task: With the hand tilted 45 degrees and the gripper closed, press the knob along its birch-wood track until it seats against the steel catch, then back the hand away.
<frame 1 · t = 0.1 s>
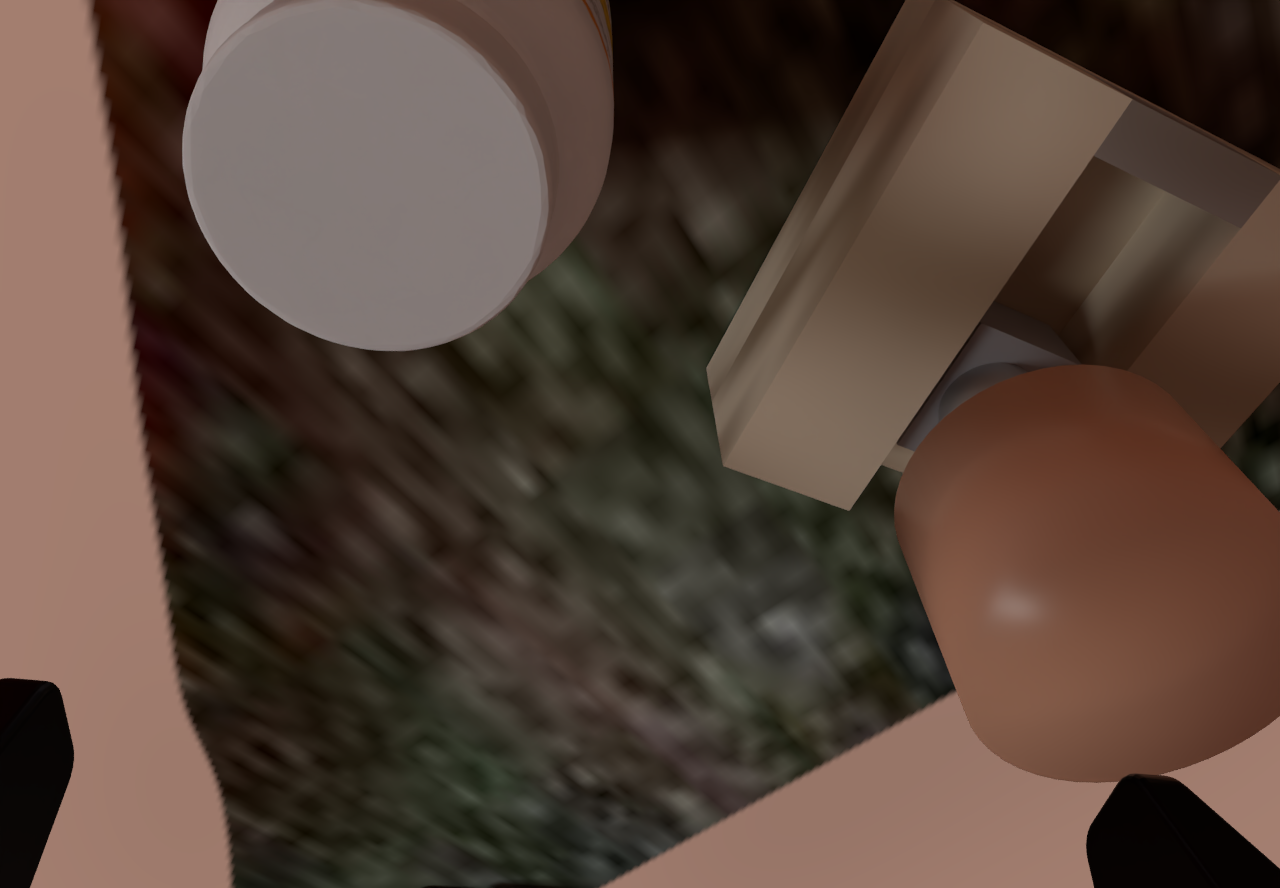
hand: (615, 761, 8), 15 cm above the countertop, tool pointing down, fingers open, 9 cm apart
knob track: (940, 329, 23), on the countertop
knob: (1035, 482, 18), point 6 cm above the countertop, slide at 0.0 cm
supplement bottle: (471, 19, 19), on the countertop
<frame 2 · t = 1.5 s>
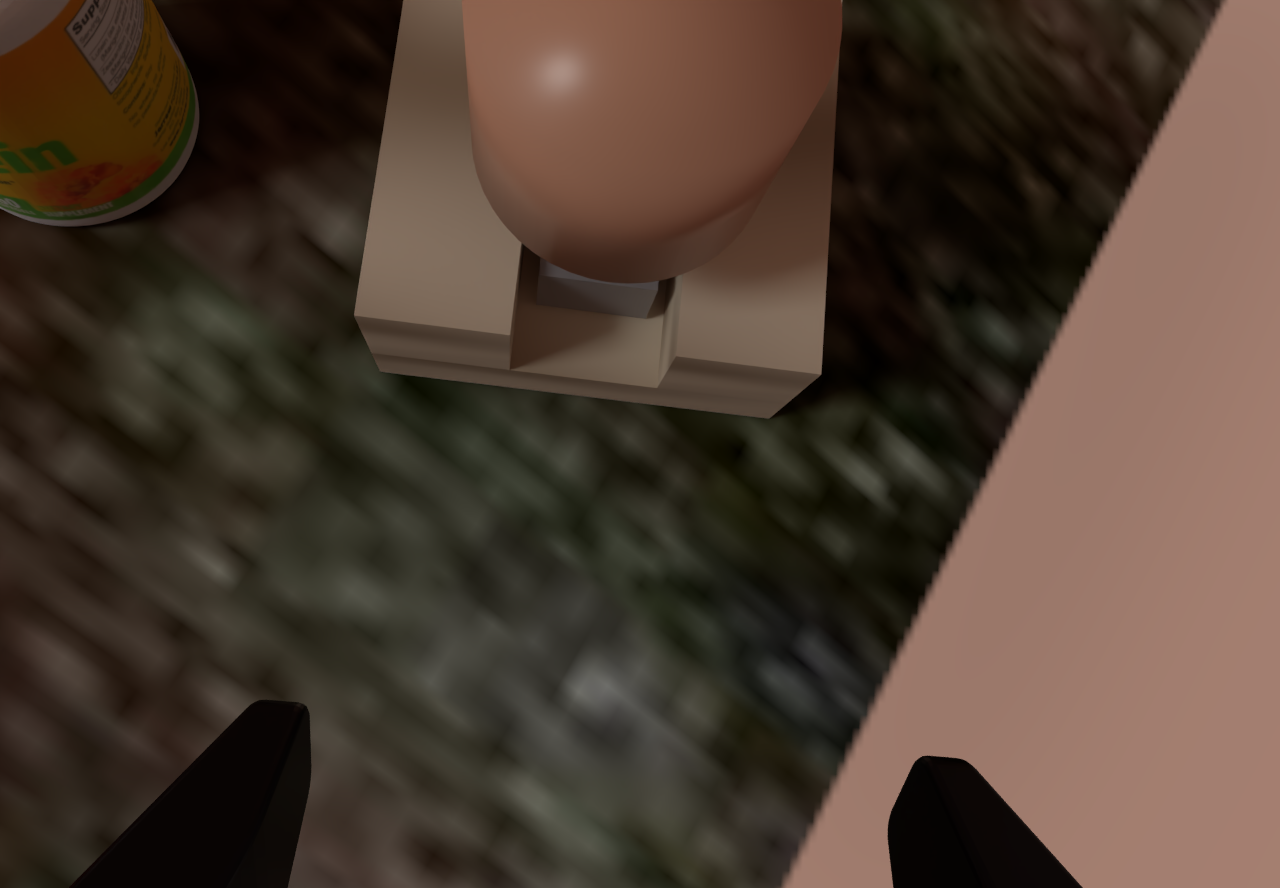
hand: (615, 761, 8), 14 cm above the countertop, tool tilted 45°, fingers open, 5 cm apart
knob track: (592, 273, 24), on the countertop
knob: (620, 152, 18), point 6 cm above the countertop, slide at 0.0 cm
supplement bottle: (84, 126, 23), on the countertop
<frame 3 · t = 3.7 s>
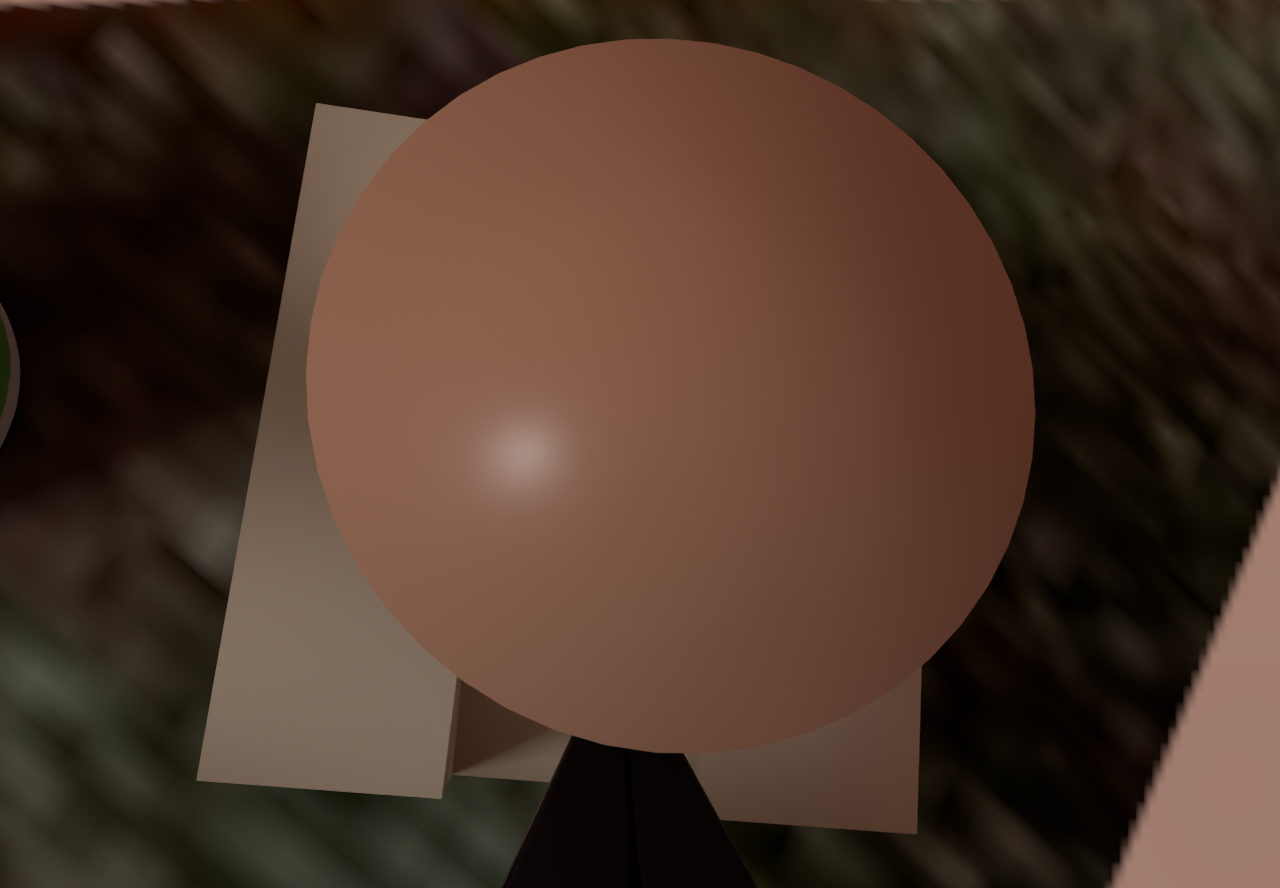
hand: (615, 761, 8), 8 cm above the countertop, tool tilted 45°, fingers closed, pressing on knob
knob track: (574, 587, 17), on the countertop
knob: (618, 476, 11), point 6 cm above the countertop, slide at 0.9 cm, touching gripper
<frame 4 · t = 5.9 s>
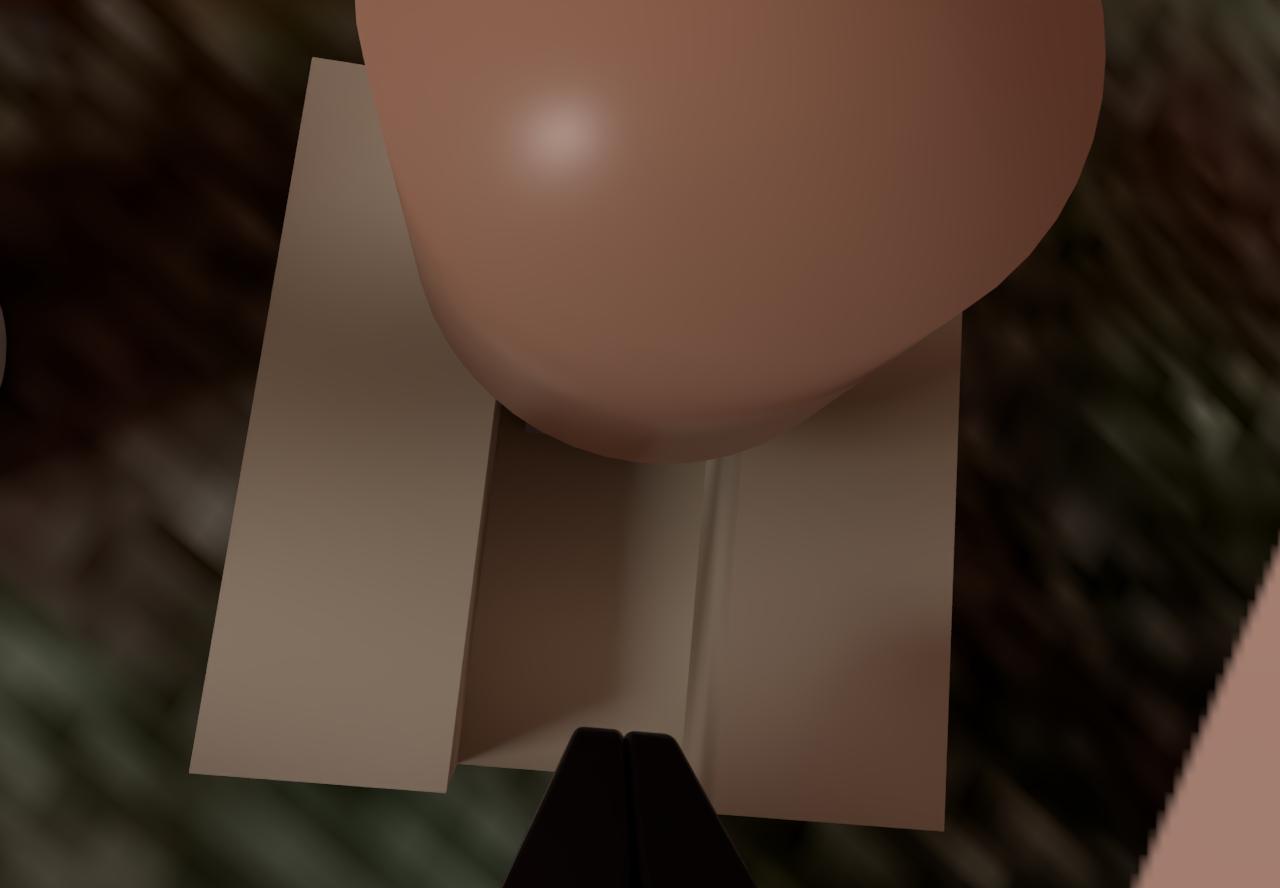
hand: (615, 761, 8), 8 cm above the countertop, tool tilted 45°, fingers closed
knob track: (583, 568, 16), on the countertop
knob: (655, 238, 11), point 6 cm above the countertop, slide at 3.3 cm
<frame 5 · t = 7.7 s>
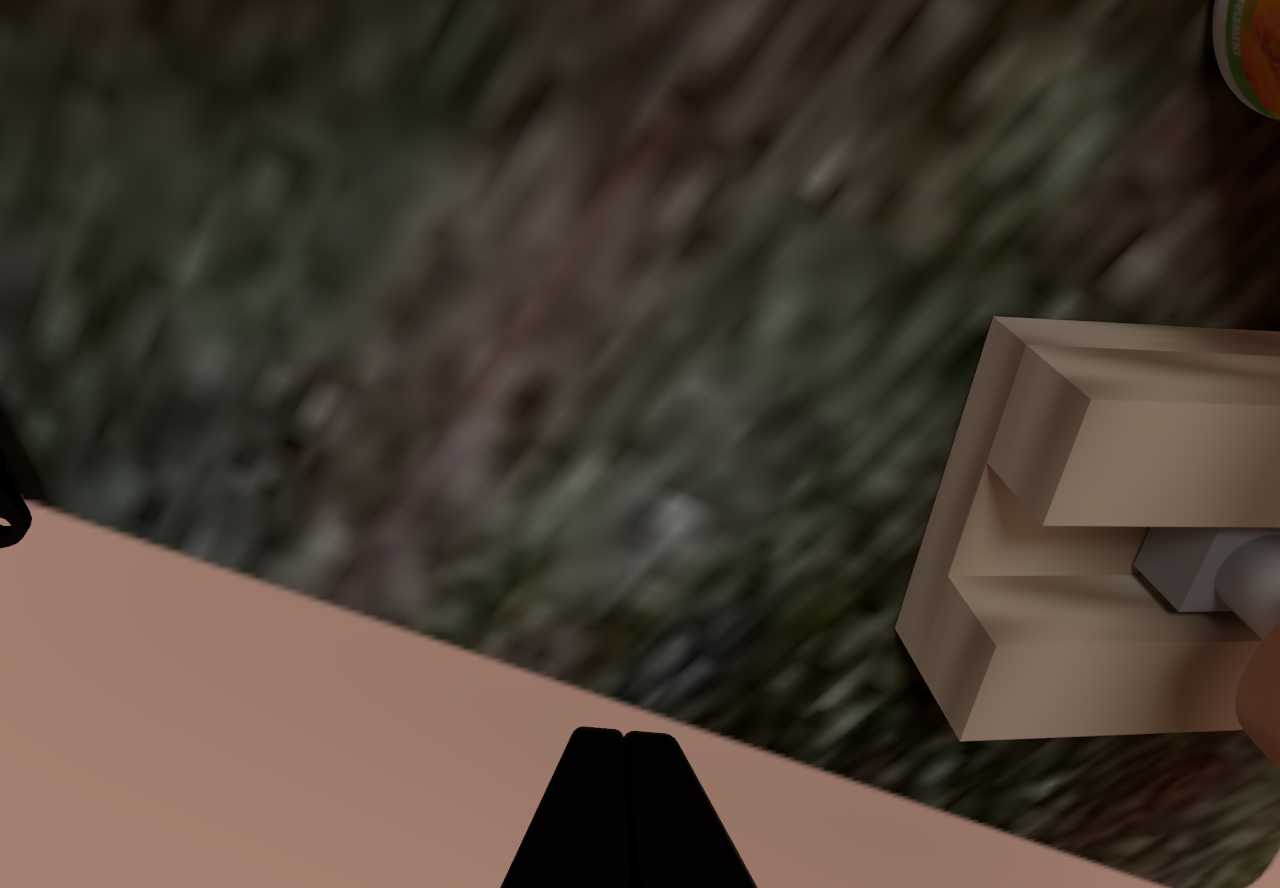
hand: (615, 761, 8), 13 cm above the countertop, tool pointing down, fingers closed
knob track: (1049, 488, 25), on the countertop
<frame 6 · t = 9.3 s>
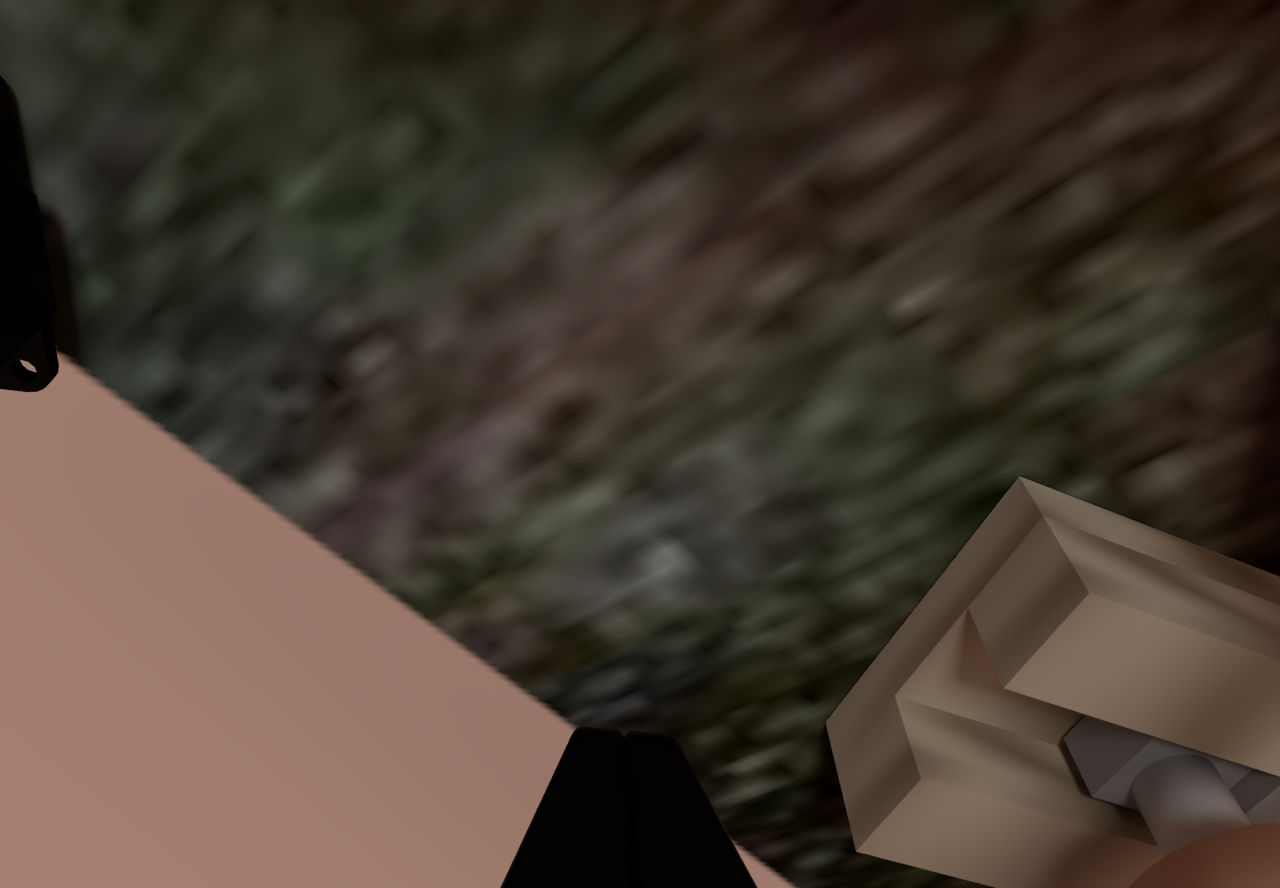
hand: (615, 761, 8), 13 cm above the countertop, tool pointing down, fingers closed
knob track: (1011, 642, 26), on the countertop
knob: (1229, 880, 22), point 6 cm above the countertop, slide at 3.3 cm
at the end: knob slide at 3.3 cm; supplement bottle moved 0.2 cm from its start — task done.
